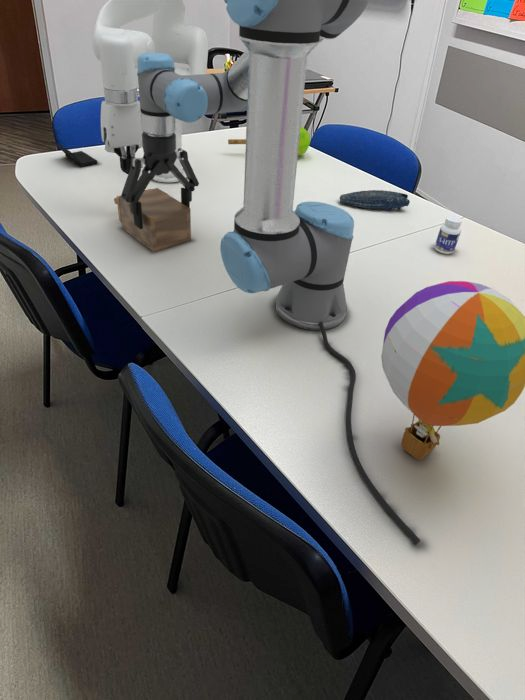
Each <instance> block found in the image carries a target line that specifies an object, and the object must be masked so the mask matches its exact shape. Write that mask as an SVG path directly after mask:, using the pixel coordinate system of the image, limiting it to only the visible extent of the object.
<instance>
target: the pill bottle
mask: <svg viewBox="0 0 525 700" xmlns="http://www.w3.org/2000/svg"><path fill="white" fill-rule="evenodd" d="M462 222H463V219H461V218H460V217H458V216H455V215H448V216H446V218H445V220H444V223H443V224H442V225H440V228H439V231H438V234H437V237H436V240H435V243H434V250H435V251H437V252H439V253H441V254H447V255H449V254H453V253H454V252H455V250H456V247H457V244H458V242H459V239H460V236H461V233H462V229H461V225H462Z"/></svg>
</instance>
